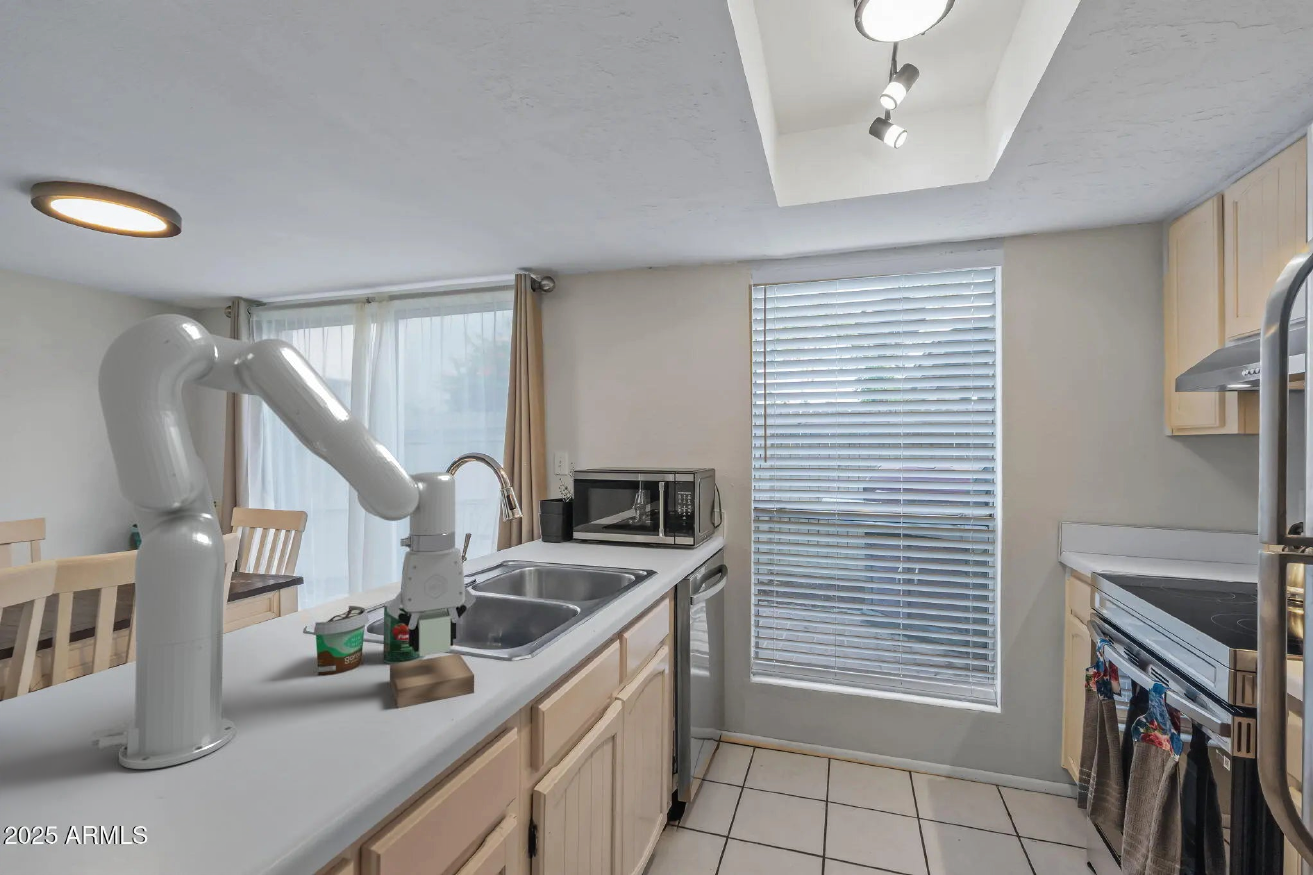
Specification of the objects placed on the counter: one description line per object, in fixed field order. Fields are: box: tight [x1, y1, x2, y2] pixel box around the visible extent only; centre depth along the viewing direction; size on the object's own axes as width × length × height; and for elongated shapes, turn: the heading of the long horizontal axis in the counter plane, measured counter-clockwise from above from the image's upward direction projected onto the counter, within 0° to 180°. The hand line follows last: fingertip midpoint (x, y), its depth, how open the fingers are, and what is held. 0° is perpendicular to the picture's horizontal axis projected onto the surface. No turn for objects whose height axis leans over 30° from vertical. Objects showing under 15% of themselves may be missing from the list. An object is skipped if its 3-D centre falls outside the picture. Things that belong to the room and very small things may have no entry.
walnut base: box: [389, 653, 475, 709], centre depth 103 cm, size 12×12×3 cm
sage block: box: [417, 609, 451, 657], centre depth 103 cm, size 5×5×6 cm
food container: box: [313, 605, 370, 677], centre depth 113 cm, size 12×6×10 cm, turn 179°
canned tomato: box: [382, 598, 426, 665], centre depth 118 cm, size 8×8×11 cm
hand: (432, 645), depth 103 cm, fingers closed on sage block, 5 cm apart
